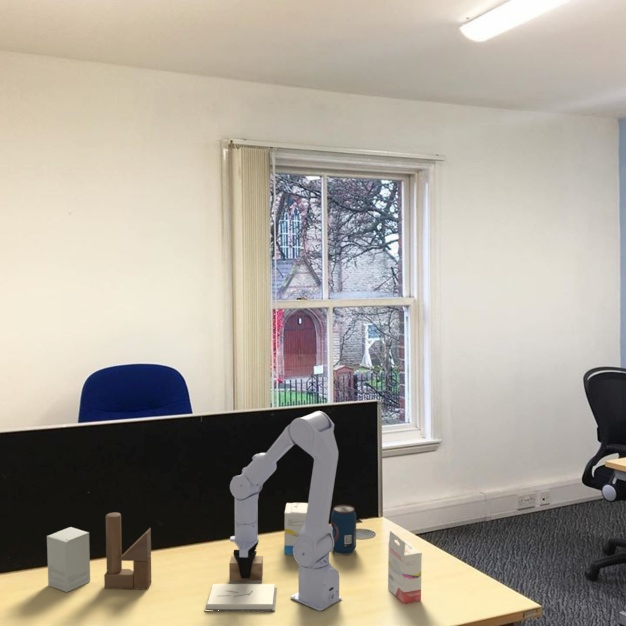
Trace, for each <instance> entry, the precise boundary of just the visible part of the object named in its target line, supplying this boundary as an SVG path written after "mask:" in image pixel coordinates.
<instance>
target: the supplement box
mask: <svg viewBox="0 0 626 626" xmlns="http://www.w3.org/2000/svg"><path fill="white" fill-rule="evenodd" d="M46 548H47V550H46V551H47V553H46V554H47V582H48V583H47V584H48V586H49V587H51V588H54V589H58V590H60V591H63V592H65V593H68V592H70V591H72V590H75V589H77V588H79V587H82V586H83V585H84V586H85V585H86V584H87V583H90V582H91V563H90V562H91V559H90V532H89V531H85V530H81V529H79V528H76V527H72V526H70V527H67V528H64V529H62V530H59V531H56V532H54V533H52V534H49V535H46Z"/></svg>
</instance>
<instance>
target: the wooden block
mask: <svg viewBox="0 0 626 626" xmlns="http://www.w3.org/2000/svg"><path fill="white" fill-rule="evenodd" d="M151 530H152V529H151V527H149V528H148V529H147V530H146V531H145V532H144V533H143V534H142V535H141V536H140V537H139V538H138V539H137V540H136V541H135V542H134V543H133V544H132V545H131V546H129V548H127V550H126V551H125V552H124V553H123V554H122V514H121V513H120V512H116V511H115V512H109V513H107V514H106V515H105V545H106V546H105V550H106V553H105V554H106V572H105V573H104V575H103V577H104V578H103V579H104V581H103V583H104V589H121V590H123V589H125V590H127V589H128V590H133V589H134V590H149V588H150V586H151V584H152V538H151V537H152V536H151V535H152V531H151ZM123 561H125V562H126V561H127V562H132V563H133V568H132V569H133V570H132V569H131V568H123V563H122V562H123Z"/></svg>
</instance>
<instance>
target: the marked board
mask: <svg viewBox="0 0 626 626" xmlns="http://www.w3.org/2000/svg"><path fill="white" fill-rule="evenodd" d="M275 586H276V583H213V584H212V586H211V588H210V591H209V595H208V598H207V601H206V605H205V608H204V611H205V610H213V611H218V610H219V611H250V613H251V612H252V611H256V612H255V613H257V611H276V603H277V602H276V601H277V593H278V587H275Z"/></svg>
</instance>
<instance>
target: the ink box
mask: <svg viewBox="0 0 626 626" xmlns="http://www.w3.org/2000/svg"><path fill="white" fill-rule="evenodd" d="M307 507H308V502H286V504H285V509H284V535H283V537H284V540H283V541H284V542H283V543H284V549H283V553H284V555H293V546H294V544H295V543H296V542H297V540H298V536H299V532H300V531H301V529H302V527H303V526H304V524H305V521H306V514H307Z"/></svg>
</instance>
